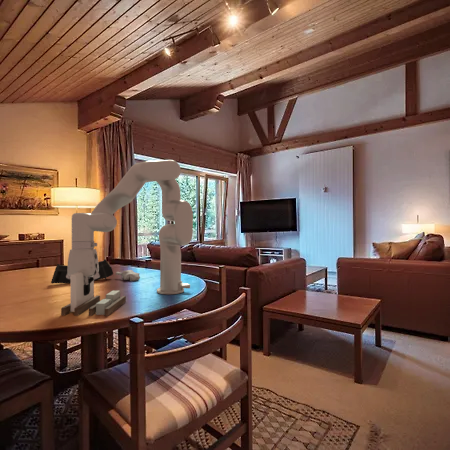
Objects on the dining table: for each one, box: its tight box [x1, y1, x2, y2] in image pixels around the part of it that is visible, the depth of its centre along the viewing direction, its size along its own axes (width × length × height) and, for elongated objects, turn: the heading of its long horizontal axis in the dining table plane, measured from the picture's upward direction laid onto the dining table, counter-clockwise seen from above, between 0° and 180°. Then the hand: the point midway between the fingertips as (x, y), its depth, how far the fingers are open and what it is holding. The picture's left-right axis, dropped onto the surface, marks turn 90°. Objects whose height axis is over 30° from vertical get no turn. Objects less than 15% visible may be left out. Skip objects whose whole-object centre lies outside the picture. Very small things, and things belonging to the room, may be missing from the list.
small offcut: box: [95, 298, 111, 316], centre depth 108 cm, size 3×6×4 cm, turn 0°
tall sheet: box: [70, 272, 95, 313], centre depth 113 cm, size 2×14×13 cm, turn 0°
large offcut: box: [105, 290, 121, 304], centre depth 117 cm, size 3×7×5 cm, turn 0°
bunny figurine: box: [115, 269, 141, 282], centre depth 168 cm, size 10×5×15 cm
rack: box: [60, 295, 127, 317], centre depth 112 cm, size 16×18×2 cm
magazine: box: [50, 258, 114, 285], centre depth 160 cm, size 17×3×30 cm
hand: (82, 294), depth 113 cm, fingers closed on tall sheet, 2 cm apart
